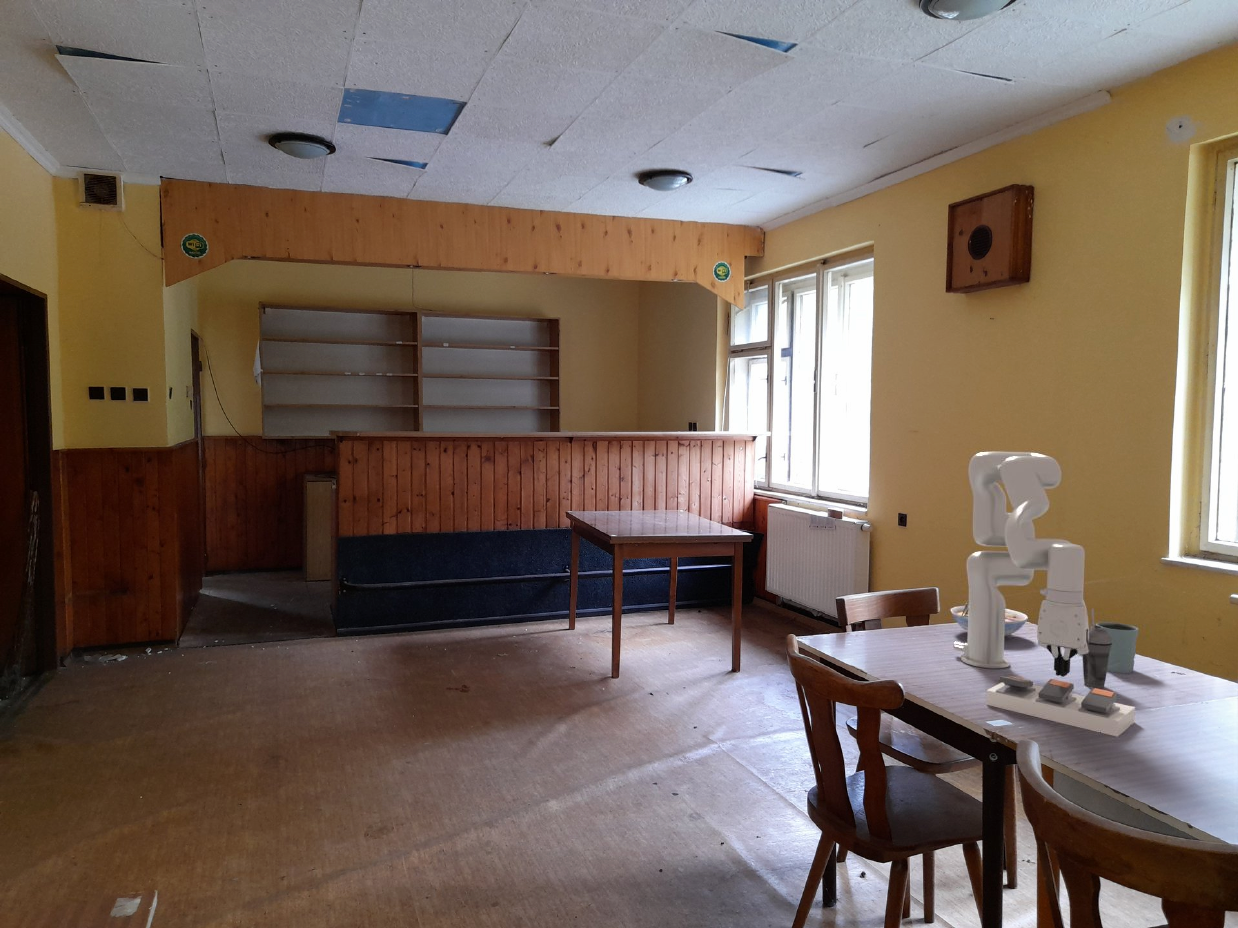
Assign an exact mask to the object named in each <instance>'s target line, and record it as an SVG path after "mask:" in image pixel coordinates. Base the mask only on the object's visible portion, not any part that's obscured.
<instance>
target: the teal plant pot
mask: <svg viewBox="0 0 1238 928" xmlns="http://www.w3.org/2000/svg"><path fill="white" fill-rule="evenodd" d="M1095 626H1100V627H1102V628H1104V629H1106V630H1107V631H1108V633H1109V634H1110V636H1111V640H1112V645H1111V650H1110V652H1109V659H1108V666H1107V672H1109V673H1116V674H1131V673H1133V671H1134V666H1135V656H1136V650H1137V649H1136V648H1137V647H1136V646H1137V640H1138V634H1139V628H1138V627H1136V626H1134V625H1131V624H1125V623H1120V622H1119V623H1118V622H1111V621H1110V622H1107V621H1105V622H1097V623H1095Z"/></svg>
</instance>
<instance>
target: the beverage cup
mask: <svg viewBox="0 0 1238 928" xmlns="http://www.w3.org/2000/svg"><path fill="white" fill-rule="evenodd" d="M1094 611H1095V610H1094V608H1091V611H1090V612H1091V621H1092V623H1091V624H1092V625H1091V626H1089V642H1088V645H1087V646H1088V650H1089V652H1088V653H1087V654H1081V657H1082V671H1083V672H1082V674H1083V682H1084V683H1083V684H1084V686H1085V687H1088V688H1091V689H1092V688H1097V689H1104V688H1105V684H1106V681H1107V680H1106V679H1107V672H1108V671H1107V666H1108V659H1109V652H1110V650H1111V645H1112V640H1111V636H1110V634H1109V633H1108V631H1107V630H1106V629H1104V628H1102V627H1100V626H1096V623H1095V613H1094Z"/></svg>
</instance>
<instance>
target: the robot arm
mask: <svg viewBox="0 0 1238 928" xmlns="http://www.w3.org/2000/svg"><path fill="white" fill-rule="evenodd" d="M968 479H969V480H968V481H969V483H970V487H971V491H972V496H973V507H972V511H973V512H972V535H973V539H974V541H975V543H976V544H978V545H980V546H983V547H999V548H1000V547H1005V548H1007V550H1008V551H1004V550H1002V551H1000V550H981V551H975V552H973V553H971V554H970V555H969V556H968V557H967V559H966V574H967V582H968V583H967V584H968V601H969V603H968V606H969V613H968V631H967V641H966V642H965V643H961V642H958V641H955V642H953V649H954V651H959V652H962V654H961V656H960V660H961V662H963V663H965V664H967V665H970V666H973V667H978V668H986V669H1006V668H1008V667H1009V666H1010V664H1011V663H1010V660H1009V659H1008V658H1006V657H1004V655H1005V653H1004V652H1005V636H1004V633H1005V609H1006V599H1005V597H1004V595H1003V594H1002V593H1001V591H999V589H998V587H1001V586H1010V587H1011V586H1012V587H1014V586H1015V587H1017V586H1021V587H1023V586H1027V585H1029V584H1031V582H1032V580H1033V579H1034V573H1035V570H1036V571H1037V570H1038V571H1047V572H1046V573H1047V574H1046V575H1047V576H1046V587H1045V588H1040V590H1039V593H1040V595H1042V596H1045V599H1043V600H1042V601H1041V604H1040V608H1039V613H1038V622H1037V628H1036V639H1037V646H1039V647H1042V648H1044V649H1046V650H1048V652H1049V653H1050V654H1051V656H1052V658H1054V659H1053V660H1054V661H1053V670H1054V671H1055V676H1058V677H1059V676H1060V677H1062V678H1063V677H1066V676H1068V674H1070V672H1071V659H1072V658H1073V657H1075V656H1076V655H1082V654H1087V653H1088V652H1089V650H1088V646H1087V645H1088V642H1089V627H1090V626H1089V616H1088V610H1087V606H1086V603H1085V604H1083V600H1084V587H1085V586H1084V582H1085V581H1084V580H1085V557H1086V556H1085V549H1084V547H1083V546H1082V545H1079V544H1075V543H1071V541H1068V540H1066V539H1064V538H1063V539H1062V538H1037V537H1036V535H1035V533H1036V532H1035V531H1036V530H1035V526H1034V522H1033V521H1032V520H1034V519H1037V518H1039V517H1041V516H1043V515H1044V514H1045V513H1046V512H1047V511H1048V510H1049V508H1050V500H1049V498H1048V495H1047V492H1046V491H1045V489H1047V490H1048V489H1050V490H1051V489H1054V488H1056V487H1058V486H1059V485H1060V483H1061V480H1062V470H1061V467H1060V465H1059V463H1058V462H1057V460H1056V459H1055V458H1054V457H1052V456H1049V455H1046V454H1042V453H1041V454H1040V453H1035V452H1031V451H1030V452H1029V451H1027V452H1026V451H1025V452H1024V451H984V452H979V453H976V454H974V455H973V456H972V457H971V459H970V461H969V465H968ZM999 483H1003V485H1004V487H1005V491H1006V494H1007V495H1006V494H1005V491H1004V490H1003V488H1002V487H1001V485H1000V484H999ZM1007 496H1008V500H1009V503H1010V505H1011V507H1012V512H1007ZM1062 648H1064V650H1063V654H1062Z"/></svg>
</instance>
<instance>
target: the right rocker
mask: <svg viewBox="0 0 1238 928" xmlns="http://www.w3.org/2000/svg"><path fill="white" fill-rule="evenodd" d="M1117 699H1118V692H1114V691H1110V690H1106V689H1105V690H1104V689H1102V688H1091V689H1090V691H1088V693H1087V695H1086V697H1085V698H1084V700H1083V701H1082V702H1081V708H1085V709H1090V710H1094V711H1099V712H1103V713H1107V712H1108V710H1109V709H1112V705H1113V703H1116V701H1117Z"/></svg>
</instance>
